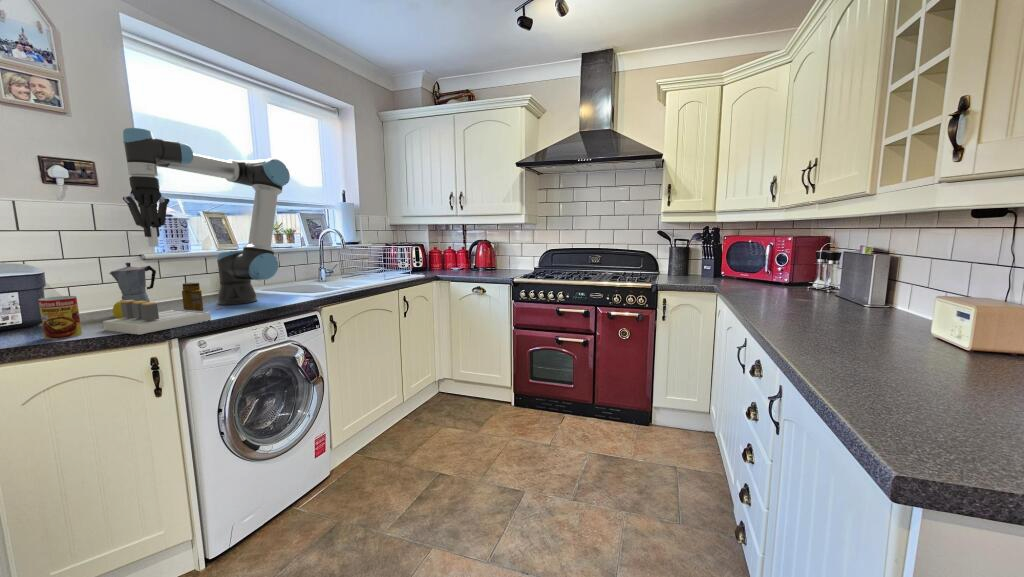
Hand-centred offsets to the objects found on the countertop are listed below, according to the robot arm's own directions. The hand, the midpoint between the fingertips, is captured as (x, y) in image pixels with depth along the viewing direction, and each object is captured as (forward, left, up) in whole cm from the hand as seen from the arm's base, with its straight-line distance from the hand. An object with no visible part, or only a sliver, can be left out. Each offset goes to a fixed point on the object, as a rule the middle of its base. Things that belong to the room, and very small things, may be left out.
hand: (153, 246), depth 145 cm
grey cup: (+9, +6, -23) cm, 26 cm away
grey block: (+10, +12, -23) cm, 28 cm away
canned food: (+24, -5, -27) cm, 36 cm away
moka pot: (-8, -29, -27) cm, 40 cm away
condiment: (-13, -4, -27) cm, 30 cm away
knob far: (+9, 0, -23) cm, 25 cm away
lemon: (+5, -12, -27) cm, 30 cm away
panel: (+4, +6, -27) cm, 28 cm away
